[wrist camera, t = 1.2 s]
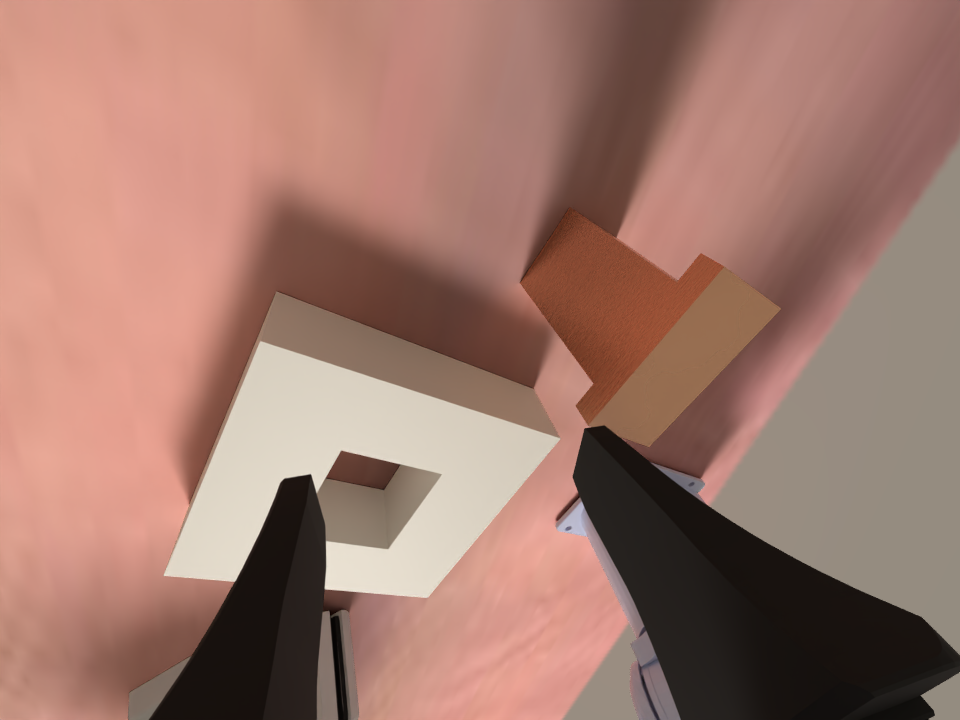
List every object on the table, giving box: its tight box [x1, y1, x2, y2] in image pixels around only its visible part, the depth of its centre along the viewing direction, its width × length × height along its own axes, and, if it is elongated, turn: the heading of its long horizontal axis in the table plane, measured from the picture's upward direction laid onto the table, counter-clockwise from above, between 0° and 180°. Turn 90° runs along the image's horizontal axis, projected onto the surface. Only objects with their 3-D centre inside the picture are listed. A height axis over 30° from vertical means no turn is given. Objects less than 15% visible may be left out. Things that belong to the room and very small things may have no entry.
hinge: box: [128, 610, 359, 720], centre depth 31 cm, size 17×5×10 cm, turn 121°
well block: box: [164, 291, 561, 598], centre depth 23 cm, size 14×14×4 cm
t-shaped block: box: [520, 208, 781, 447], centre depth 17 cm, size 3×6×9 cm, turn 148°
